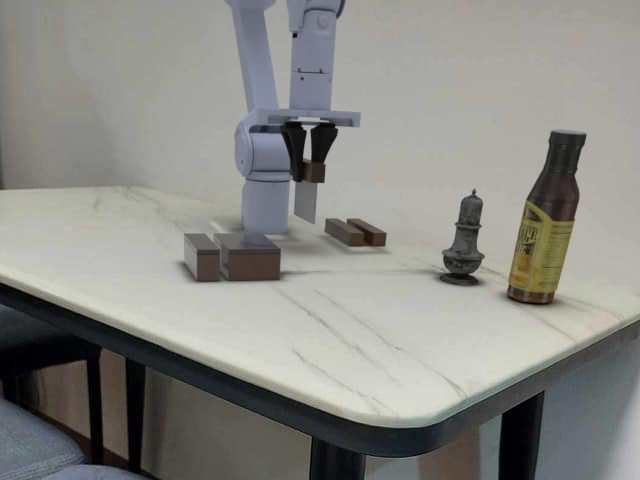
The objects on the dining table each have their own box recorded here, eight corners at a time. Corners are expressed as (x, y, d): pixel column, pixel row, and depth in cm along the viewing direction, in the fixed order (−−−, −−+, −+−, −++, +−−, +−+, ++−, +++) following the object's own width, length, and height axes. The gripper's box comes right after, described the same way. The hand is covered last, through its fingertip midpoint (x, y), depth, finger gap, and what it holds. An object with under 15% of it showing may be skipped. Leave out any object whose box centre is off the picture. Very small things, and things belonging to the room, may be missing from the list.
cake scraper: (287, 213, 111) (290, 157, 107) (299, 213, 112) (302, 157, 108) (308, 224, 103) (312, 164, 99) (321, 224, 103) (325, 164, 99)
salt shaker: (481, 287, 99) (498, 193, 93) (437, 282, 100) (452, 189, 94) (479, 277, 104) (496, 187, 98) (437, 272, 105) (451, 183, 99)
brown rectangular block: (184, 262, 102) (183, 233, 100) (205, 262, 103) (205, 233, 101) (197, 281, 94) (196, 249, 92) (219, 280, 95) (220, 249, 93)
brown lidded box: (213, 262, 103) (213, 233, 101) (260, 261, 105) (261, 233, 103) (228, 280, 95) (228, 249, 93) (279, 279, 97) (281, 248, 95)
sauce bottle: (500, 290, 98) (532, 126, 88) (546, 293, 98) (584, 129, 88) (512, 304, 92) (548, 130, 82) (561, 307, 92) (603, 134, 82)
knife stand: (324, 236, 123) (325, 218, 122) (357, 236, 125) (359, 218, 123) (349, 253, 113) (350, 233, 112) (384, 252, 115) (387, 232, 114)
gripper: (268, 70, 93) (264, 184, 99) (372, 76, 97) (363, 185, 103) (253, 70, 99) (251, 178, 105) (353, 76, 103) (345, 179, 109)
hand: (305, 181), depth 105 cm, fingers closed on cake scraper, 2 cm apart
